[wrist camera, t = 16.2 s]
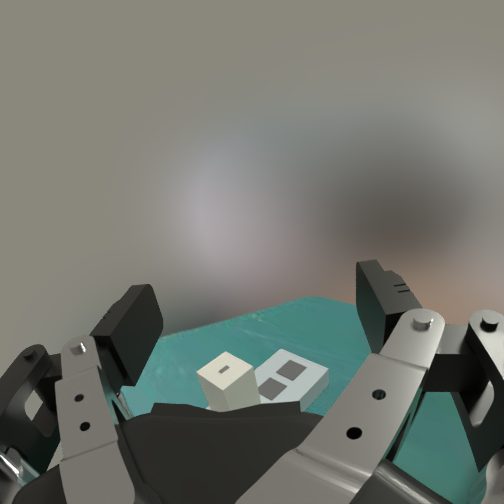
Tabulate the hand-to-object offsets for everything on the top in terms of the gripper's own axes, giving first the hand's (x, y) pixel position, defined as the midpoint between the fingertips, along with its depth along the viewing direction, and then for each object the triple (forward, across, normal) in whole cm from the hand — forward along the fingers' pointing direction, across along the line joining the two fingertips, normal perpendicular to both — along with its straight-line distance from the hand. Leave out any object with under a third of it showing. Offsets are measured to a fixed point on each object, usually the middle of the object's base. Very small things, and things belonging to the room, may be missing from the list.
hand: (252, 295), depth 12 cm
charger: (+14, +7, +29) cm, 33 cm away
